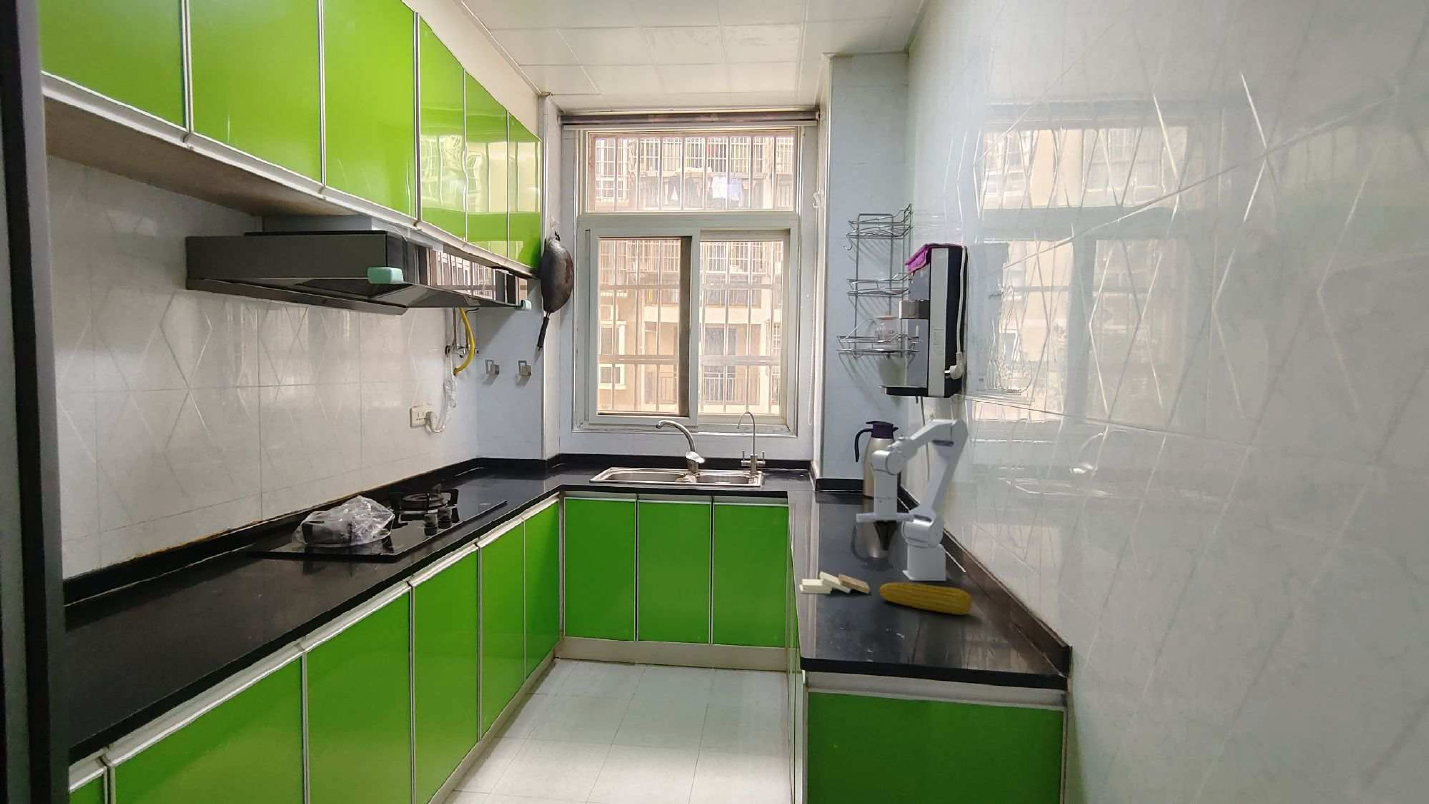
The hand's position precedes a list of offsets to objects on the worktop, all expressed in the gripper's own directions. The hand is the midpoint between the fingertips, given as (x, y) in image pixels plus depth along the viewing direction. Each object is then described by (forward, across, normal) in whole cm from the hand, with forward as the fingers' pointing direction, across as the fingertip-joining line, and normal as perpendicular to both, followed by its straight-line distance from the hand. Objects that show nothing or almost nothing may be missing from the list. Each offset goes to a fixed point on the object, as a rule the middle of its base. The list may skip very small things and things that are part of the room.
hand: (884, 549), depth 172 cm
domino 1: (+8, +14, +2) cm, 17 cm away
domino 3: (+9, +10, +3) cm, 14 cm away
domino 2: (+10, +15, +3) cm, 18 cm away
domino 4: (+9, +6, +4) cm, 11 cm away
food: (+10, -4, +17) cm, 20 cm away
